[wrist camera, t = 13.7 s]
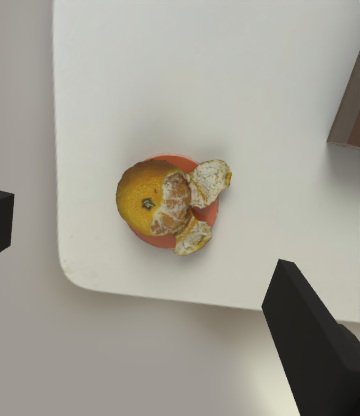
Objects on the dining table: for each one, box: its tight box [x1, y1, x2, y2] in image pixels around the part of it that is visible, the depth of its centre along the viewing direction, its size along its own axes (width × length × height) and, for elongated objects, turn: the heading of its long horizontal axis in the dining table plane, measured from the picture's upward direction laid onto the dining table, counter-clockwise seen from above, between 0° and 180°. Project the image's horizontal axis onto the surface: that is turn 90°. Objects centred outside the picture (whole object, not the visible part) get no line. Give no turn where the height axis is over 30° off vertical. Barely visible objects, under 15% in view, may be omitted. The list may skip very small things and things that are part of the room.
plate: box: [128, 154, 218, 249], centre depth 24 cm, size 8×8×1 cm
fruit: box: [116, 159, 232, 256], centre depth 22 cm, size 8×8×4 cm
